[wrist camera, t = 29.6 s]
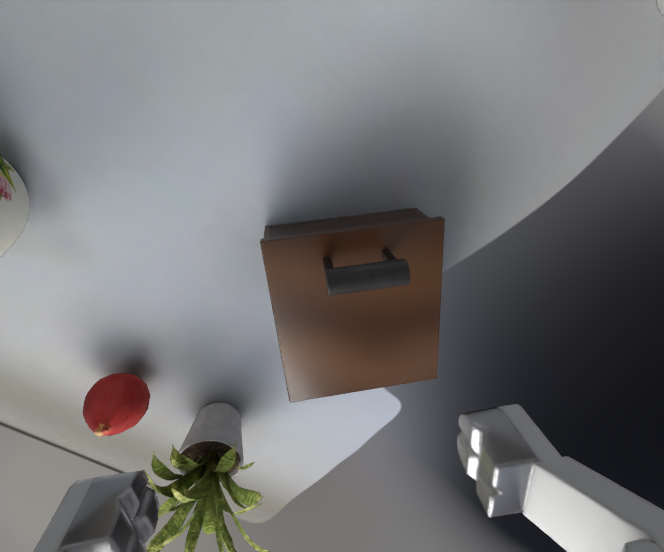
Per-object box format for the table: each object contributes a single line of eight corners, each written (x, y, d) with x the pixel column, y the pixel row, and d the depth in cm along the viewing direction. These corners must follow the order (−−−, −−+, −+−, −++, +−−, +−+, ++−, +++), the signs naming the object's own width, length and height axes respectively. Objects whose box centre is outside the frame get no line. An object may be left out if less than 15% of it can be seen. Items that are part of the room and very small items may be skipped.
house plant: (297, 377, 43) (306, 516, 28) (277, 458, 48) (275, 610, 33) (172, 364, 40) (109, 512, 25) (164, 452, 45) (108, 616, 30)
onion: (154, 401, 42) (128, 462, 34) (100, 393, 40) (61, 455, 33) (162, 362, 40) (136, 418, 32) (105, 352, 38) (65, 408, 31)
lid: (260, 238, 29) (256, 266, 24) (441, 215, 30) (474, 237, 25) (289, 397, 36) (291, 445, 31) (434, 373, 37) (459, 416, 32)
